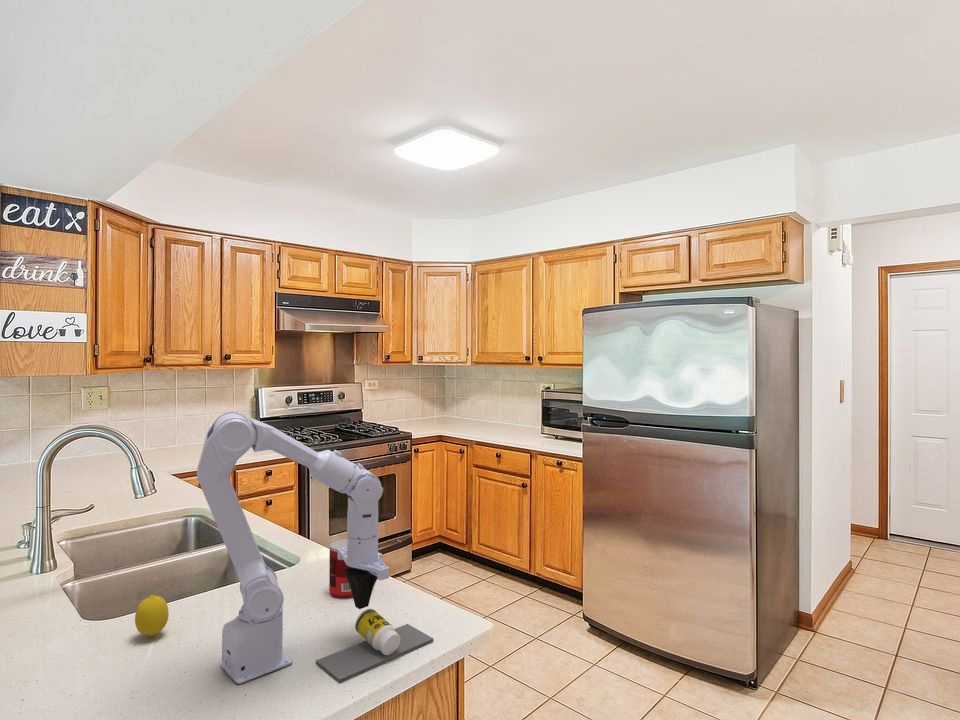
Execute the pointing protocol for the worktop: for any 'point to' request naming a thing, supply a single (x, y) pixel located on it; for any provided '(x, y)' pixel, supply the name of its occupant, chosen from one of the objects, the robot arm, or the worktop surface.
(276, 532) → the worktop surface
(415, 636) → the mat
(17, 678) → the worktop surface
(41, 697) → the worktop surface
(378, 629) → the supplement bottle
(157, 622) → the lemon
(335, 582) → the canned food
